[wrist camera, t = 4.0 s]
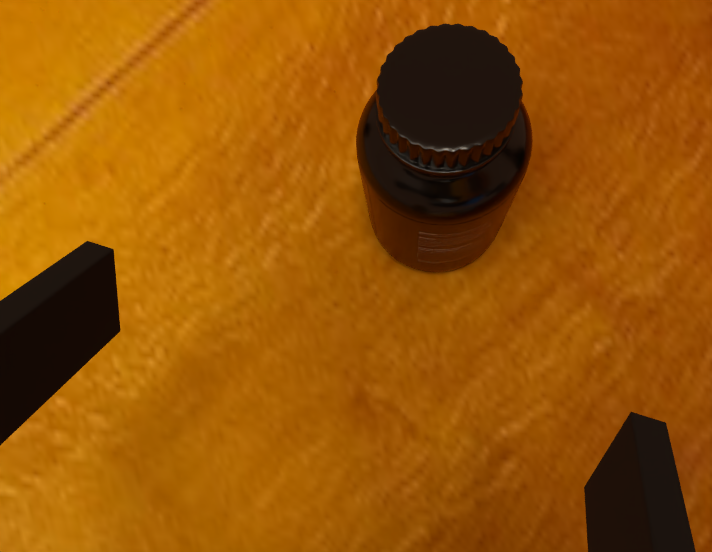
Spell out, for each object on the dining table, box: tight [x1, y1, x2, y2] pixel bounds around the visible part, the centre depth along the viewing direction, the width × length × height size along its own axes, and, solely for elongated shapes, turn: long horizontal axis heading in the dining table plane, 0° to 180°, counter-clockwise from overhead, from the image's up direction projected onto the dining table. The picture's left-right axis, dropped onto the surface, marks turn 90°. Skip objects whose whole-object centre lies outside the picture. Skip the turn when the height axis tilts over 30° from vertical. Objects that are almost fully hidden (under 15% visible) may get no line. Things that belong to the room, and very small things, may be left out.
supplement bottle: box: [356, 24, 532, 272], centre depth 25 cm, size 7×7×12 cm
